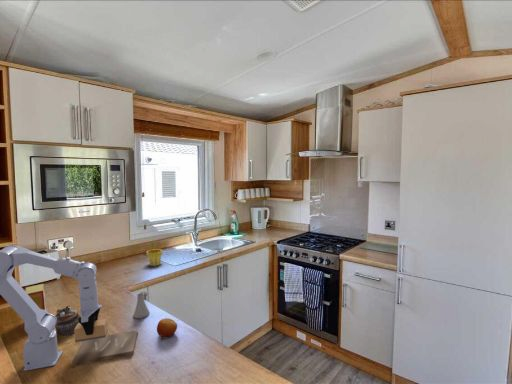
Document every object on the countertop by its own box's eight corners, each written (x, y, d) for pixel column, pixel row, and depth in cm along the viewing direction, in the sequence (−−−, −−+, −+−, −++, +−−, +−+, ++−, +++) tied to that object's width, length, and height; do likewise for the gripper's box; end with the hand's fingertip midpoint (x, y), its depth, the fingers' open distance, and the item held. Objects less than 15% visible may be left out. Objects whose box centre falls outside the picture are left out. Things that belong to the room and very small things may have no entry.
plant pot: (148, 262, 209) (147, 249, 208) (163, 261, 211) (162, 248, 210) (146, 267, 199) (145, 253, 198) (161, 266, 201) (161, 252, 200)
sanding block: (75, 342, 106) (74, 329, 106) (79, 335, 110) (78, 323, 110) (105, 337, 109) (104, 324, 108) (107, 330, 113) (107, 318, 113)
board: (72, 366, 102) (71, 361, 102) (83, 342, 116) (83, 339, 115) (133, 354, 108) (133, 350, 107) (137, 333, 121) (137, 330, 121)
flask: (133, 312, 138) (132, 292, 137) (149, 309, 141) (148, 290, 140) (132, 320, 132) (131, 299, 131) (149, 317, 134) (148, 296, 133)
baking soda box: (29, 319, 134) (26, 286, 132) (46, 315, 137) (43, 282, 136) (27, 329, 126) (24, 293, 124) (46, 324, 130) (43, 289, 128)
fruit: (149, 334, 118) (157, 314, 120) (165, 336, 123) (173, 317, 125) (158, 342, 112) (167, 321, 115) (174, 344, 117) (182, 324, 120)
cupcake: (63, 339, 118) (61, 315, 117) (50, 333, 123) (47, 310, 122) (86, 327, 127) (84, 305, 126) (73, 322, 131) (71, 301, 130)
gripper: (95, 303, 102) (98, 339, 104) (105, 286, 116) (107, 319, 117) (73, 306, 100) (76, 343, 102) (85, 289, 114) (87, 321, 115)
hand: (91, 330), depth 109 cm, fingers closed on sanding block, 4 cm apart
